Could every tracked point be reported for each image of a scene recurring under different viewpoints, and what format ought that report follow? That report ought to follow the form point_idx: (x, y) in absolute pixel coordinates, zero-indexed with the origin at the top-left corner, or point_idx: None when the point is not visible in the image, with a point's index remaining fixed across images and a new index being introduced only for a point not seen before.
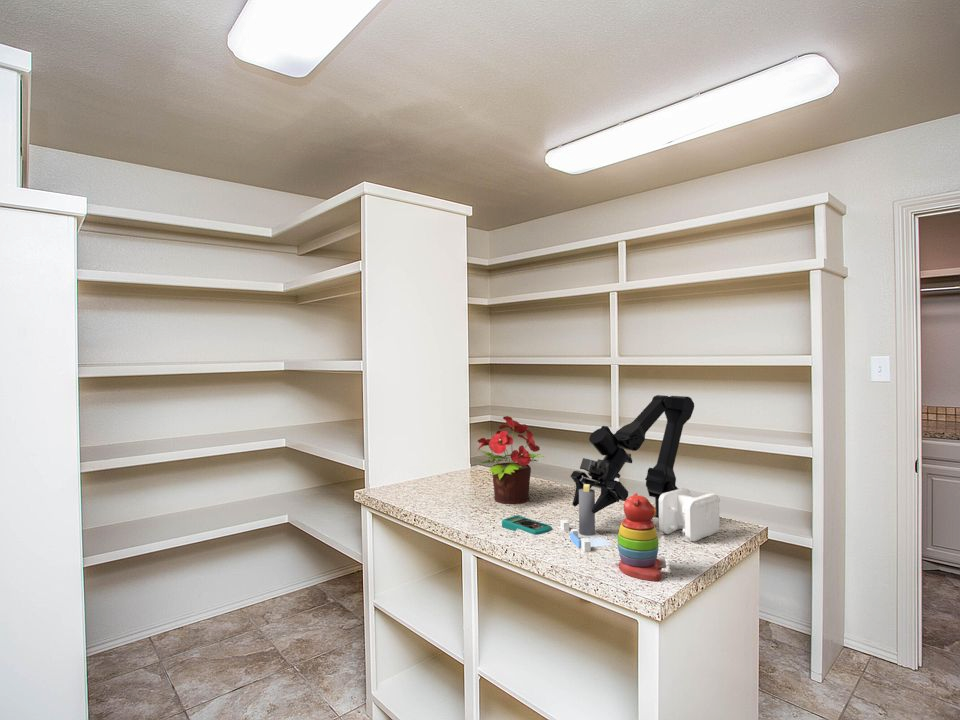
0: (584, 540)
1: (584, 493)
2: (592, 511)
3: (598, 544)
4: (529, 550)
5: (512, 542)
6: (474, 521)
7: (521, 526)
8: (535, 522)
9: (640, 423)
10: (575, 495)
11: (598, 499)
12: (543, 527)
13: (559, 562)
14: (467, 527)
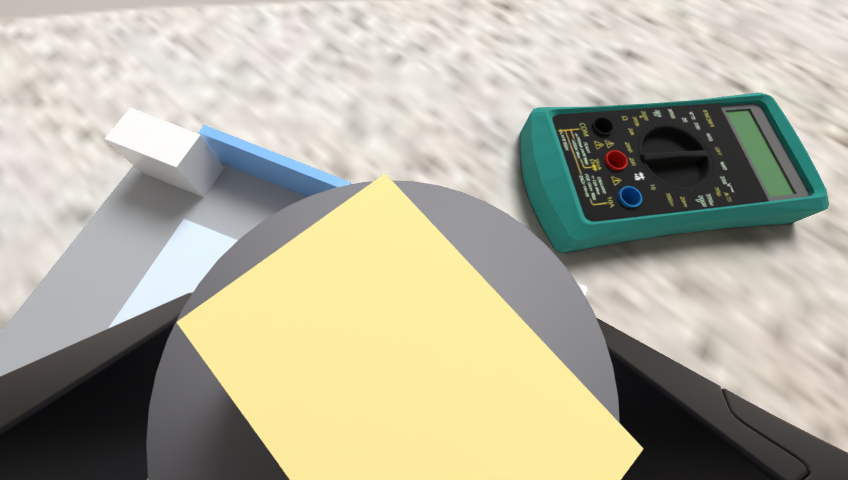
0: (151, 126)
1: (303, 212)
2: (190, 293)
3: (172, 285)
4: (405, 30)
5: (525, 36)
6: (844, 73)
7: (638, 104)
8: (673, 199)
9: None
10: (661, 364)
11: (16, 401)
12: (558, 164)
13: (212, 31)
14: (769, 16)
